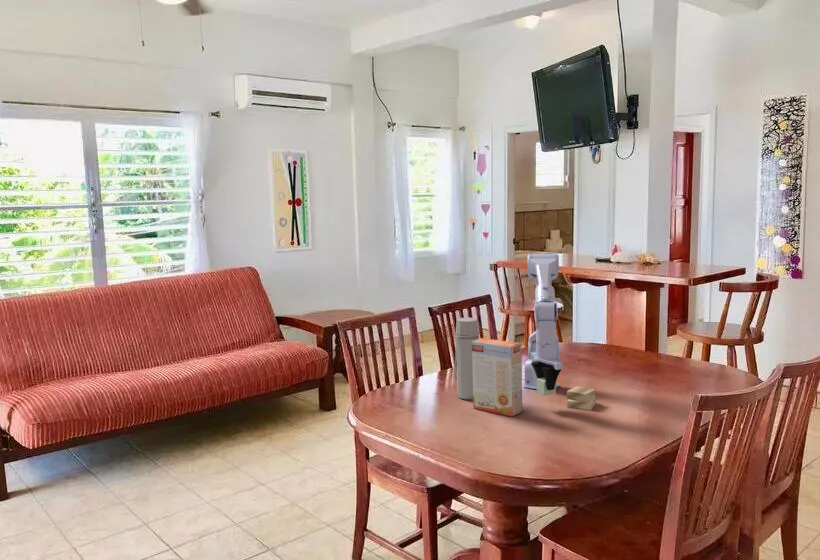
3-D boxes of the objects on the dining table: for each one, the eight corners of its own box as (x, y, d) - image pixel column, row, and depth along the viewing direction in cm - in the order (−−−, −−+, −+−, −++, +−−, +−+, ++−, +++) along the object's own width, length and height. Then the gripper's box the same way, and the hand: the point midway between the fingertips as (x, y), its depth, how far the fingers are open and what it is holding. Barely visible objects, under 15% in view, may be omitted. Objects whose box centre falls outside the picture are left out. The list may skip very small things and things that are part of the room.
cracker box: (523, 412, 197) (522, 342, 194) (512, 417, 193) (511, 346, 190) (484, 403, 206) (483, 336, 204) (472, 408, 202) (471, 340, 199)
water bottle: (485, 396, 214) (483, 318, 210) (470, 402, 208) (468, 322, 205) (462, 390, 220) (461, 315, 217) (447, 396, 214) (445, 319, 211)
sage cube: (536, 391, 200) (536, 378, 199) (548, 389, 201) (548, 376, 200) (543, 395, 196) (543, 382, 195) (555, 393, 197) (555, 380, 197)
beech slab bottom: (567, 408, 200) (567, 400, 200) (572, 401, 206) (572, 394, 206) (591, 411, 197) (591, 403, 197) (595, 404, 203) (595, 396, 203)
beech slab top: (566, 399, 202) (566, 390, 201) (577, 394, 206) (576, 386, 206) (585, 402, 197) (584, 394, 197) (594, 397, 202) (594, 389, 201)
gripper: (521, 338, 202) (522, 382, 204) (546, 349, 188) (547, 396, 190) (542, 336, 204) (542, 379, 206) (568, 346, 190) (568, 392, 192)
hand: (546, 387), depth 198 cm, fingers closed on sage cube, 4 cm apart
